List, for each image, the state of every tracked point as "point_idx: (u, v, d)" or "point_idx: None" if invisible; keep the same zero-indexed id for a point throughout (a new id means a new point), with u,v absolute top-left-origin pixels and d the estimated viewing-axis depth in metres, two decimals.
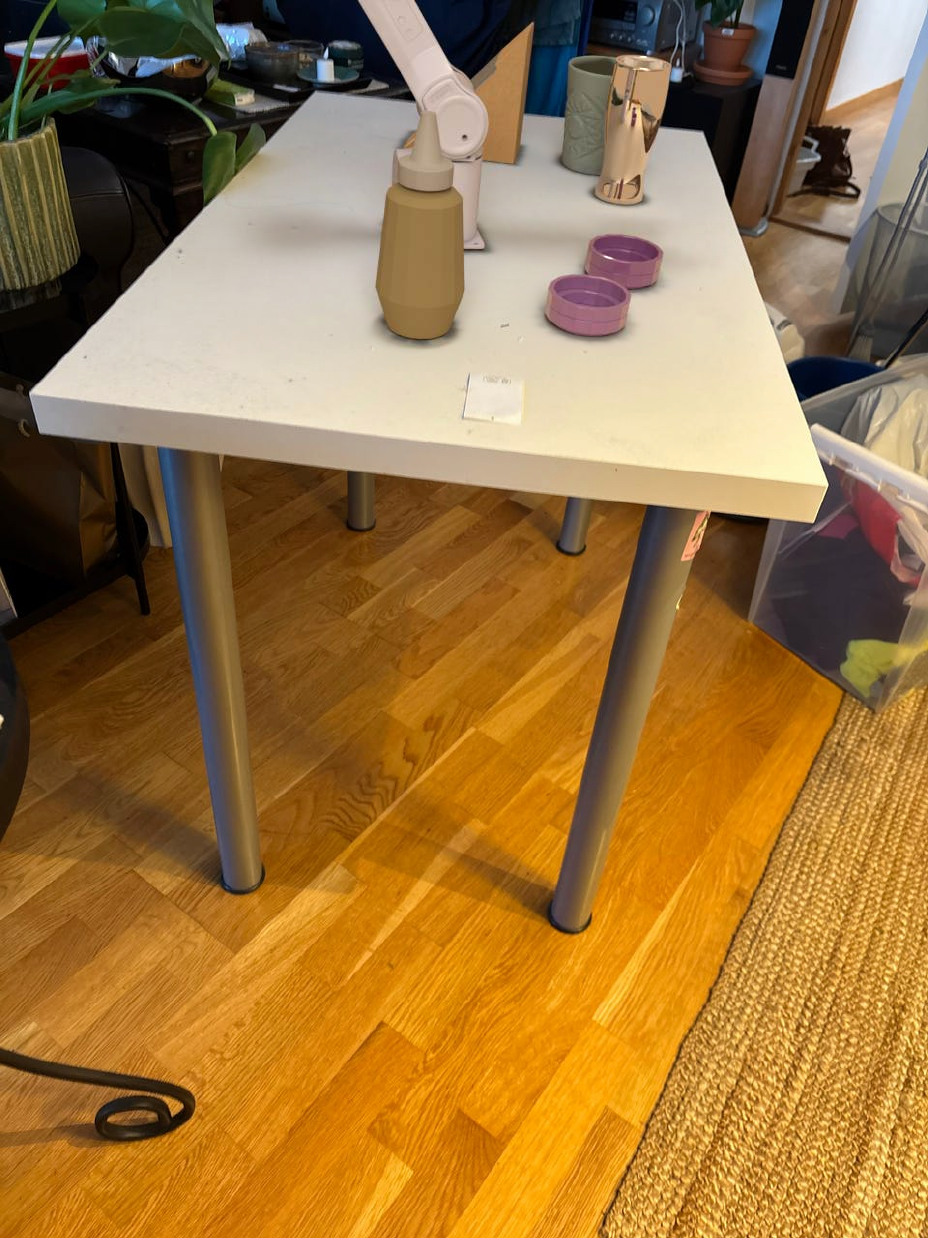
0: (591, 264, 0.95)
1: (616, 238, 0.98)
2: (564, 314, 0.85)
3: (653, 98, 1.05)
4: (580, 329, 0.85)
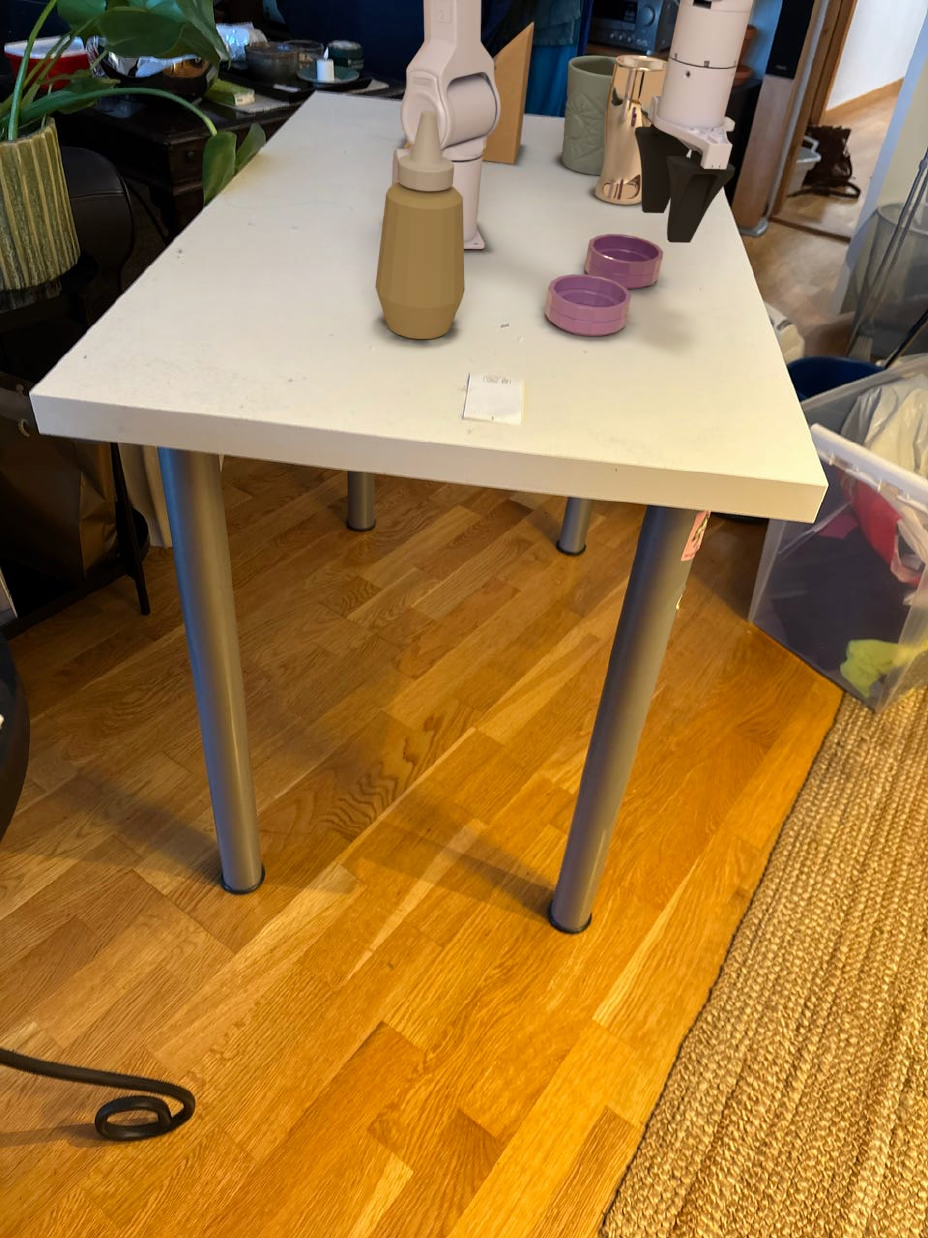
0: (591, 264, 0.95)
1: (616, 238, 0.98)
2: (564, 314, 0.85)
3: None
4: (580, 329, 0.85)
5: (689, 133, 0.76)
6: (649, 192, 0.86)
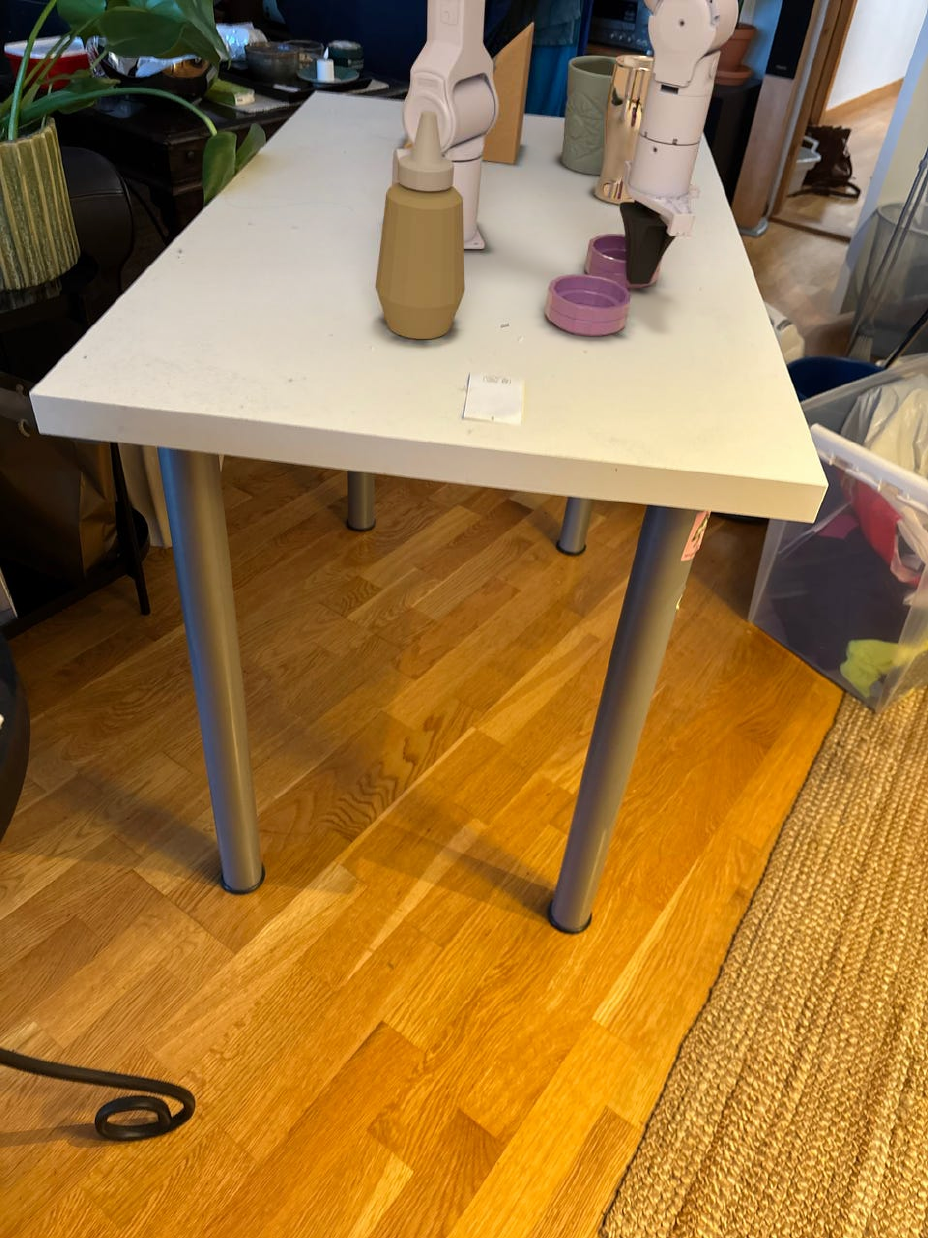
0: (591, 264, 0.95)
1: (616, 238, 0.98)
2: (564, 314, 0.85)
3: None
4: (580, 329, 0.85)
5: (656, 203, 0.83)
6: None
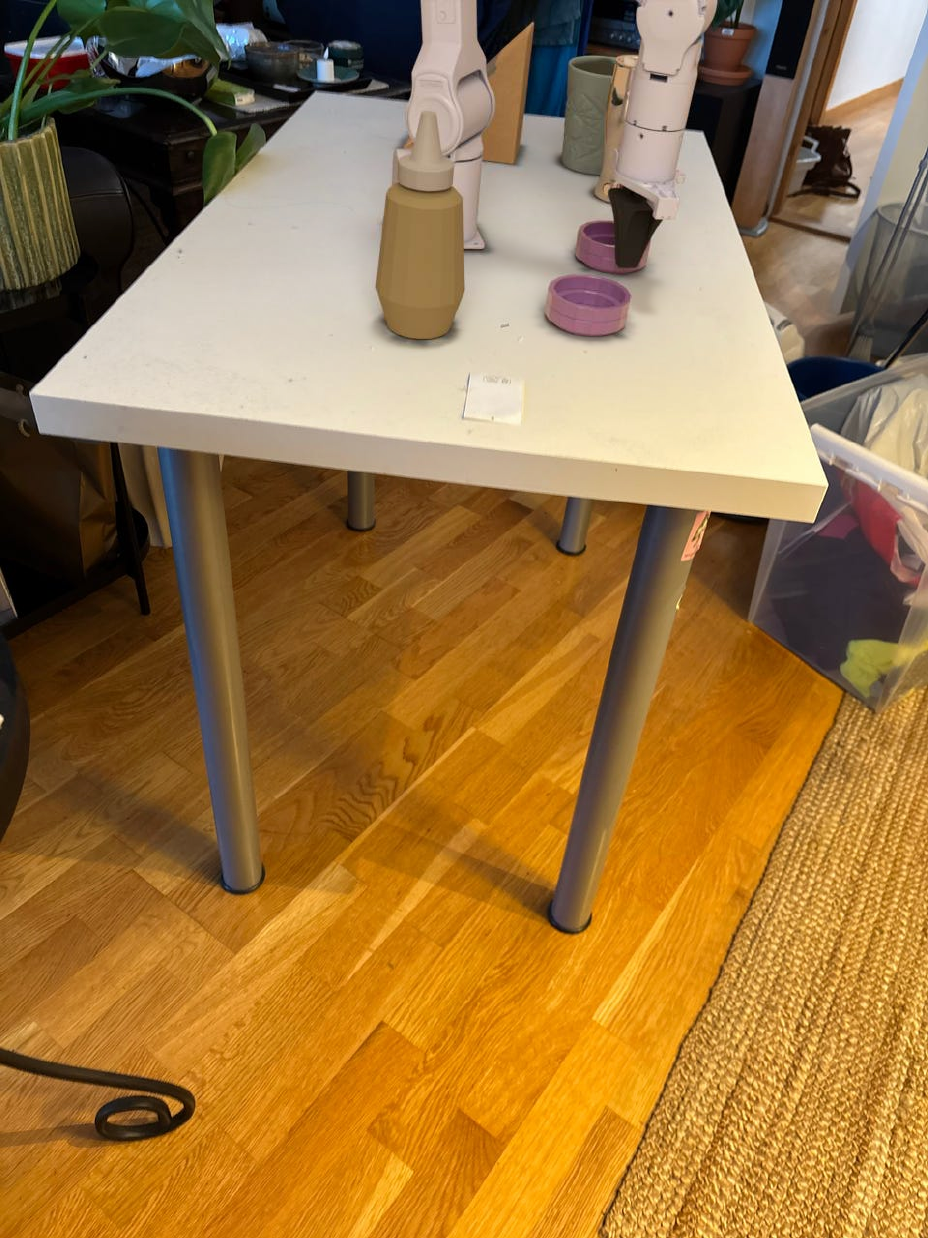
0: (581, 249, 0.97)
1: (606, 224, 1.00)
2: (564, 314, 0.85)
3: None
4: (580, 329, 0.85)
5: (642, 187, 0.86)
6: None
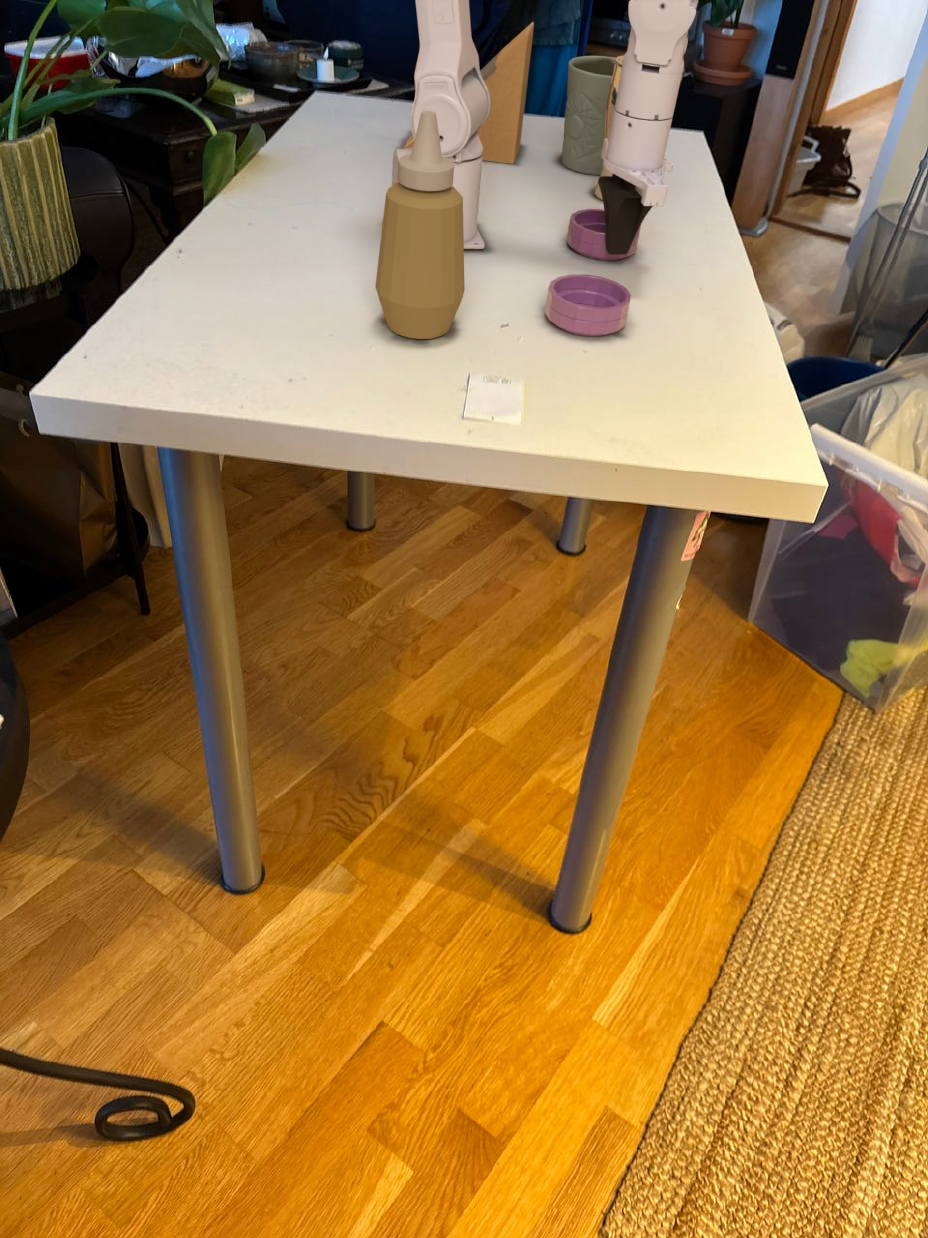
0: (572, 236, 1.00)
1: (597, 212, 1.03)
2: (564, 314, 0.85)
3: None
4: (580, 329, 0.85)
5: (631, 175, 0.88)
6: None
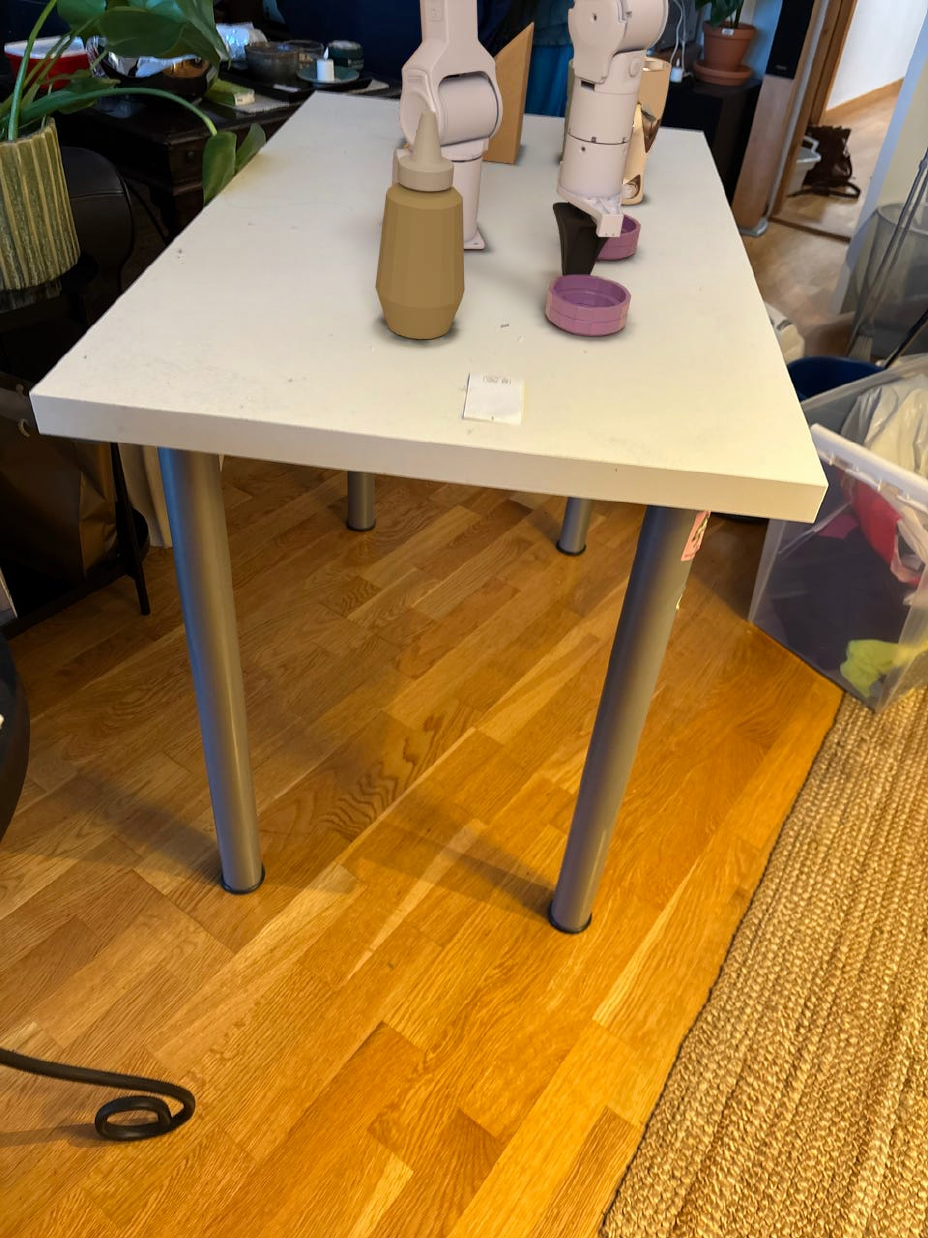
0: None
1: None
2: (564, 314, 0.85)
3: (653, 98, 1.05)
4: (580, 329, 0.85)
5: (585, 203, 0.81)
6: None
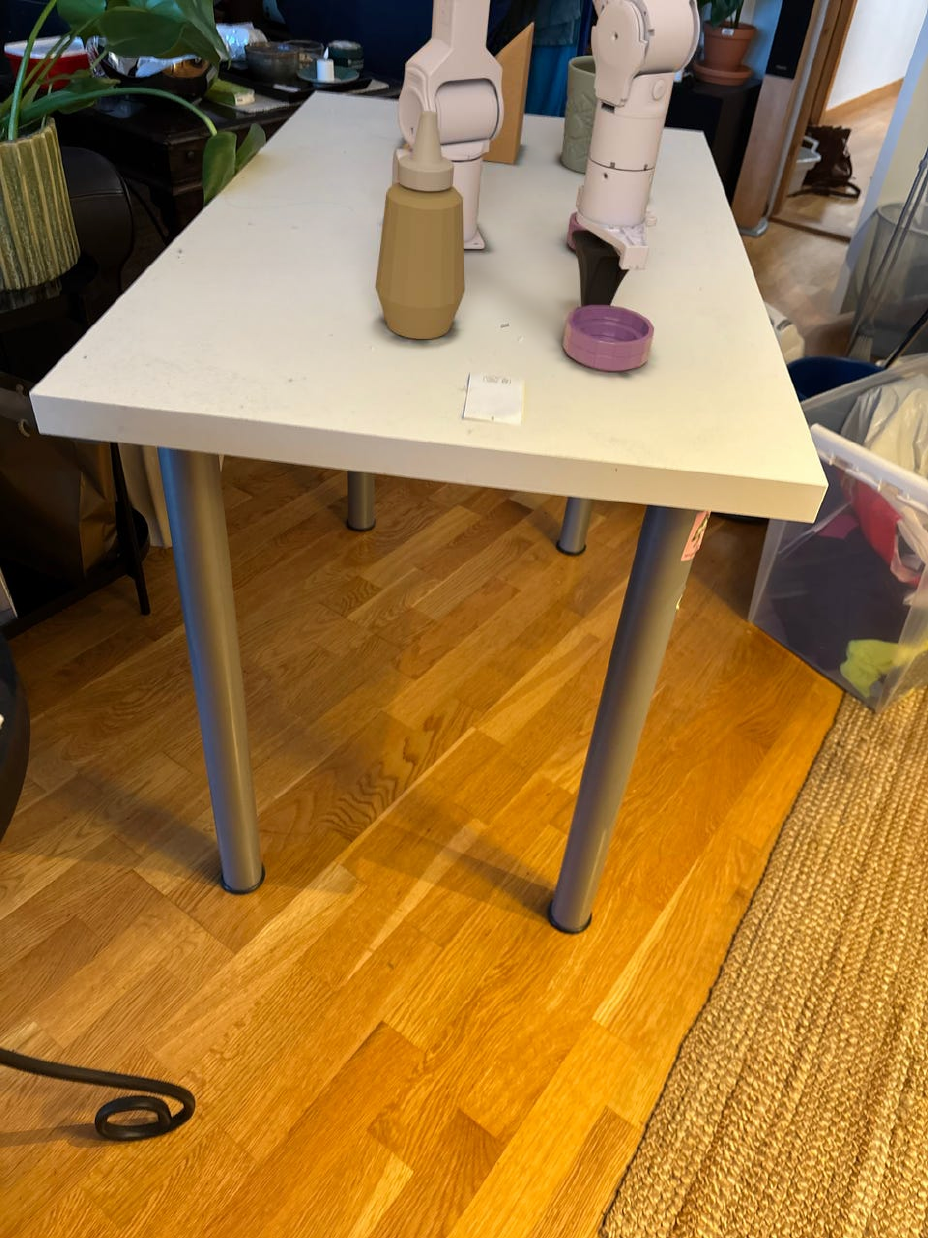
0: None
1: None
2: (584, 348, 0.80)
3: None
4: (601, 364, 0.80)
5: (608, 233, 0.76)
6: None
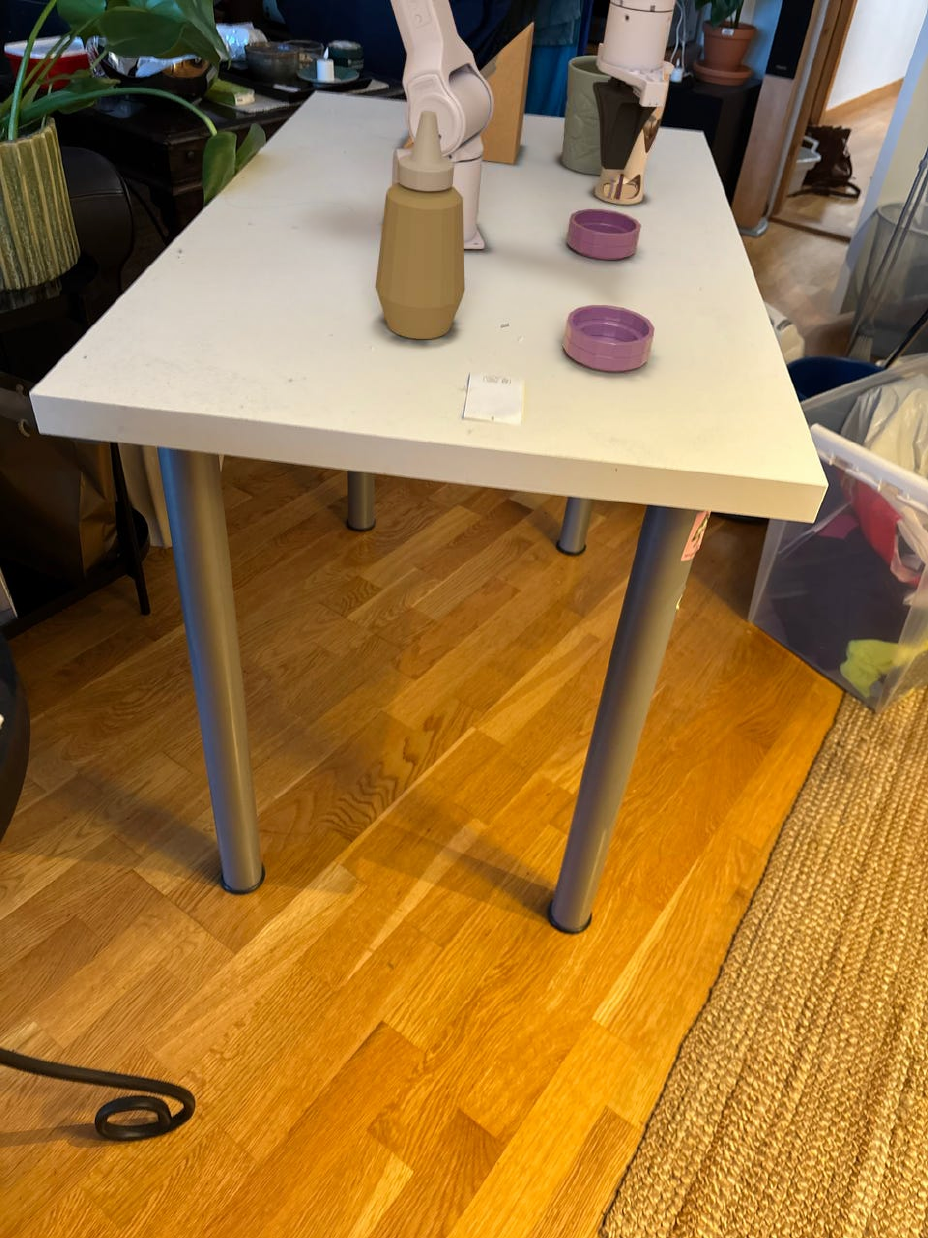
0: (572, 236, 1.00)
1: (597, 212, 1.03)
2: (584, 349, 0.80)
3: None
4: (601, 365, 0.80)
5: (629, 73, 0.81)
6: None
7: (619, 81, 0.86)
